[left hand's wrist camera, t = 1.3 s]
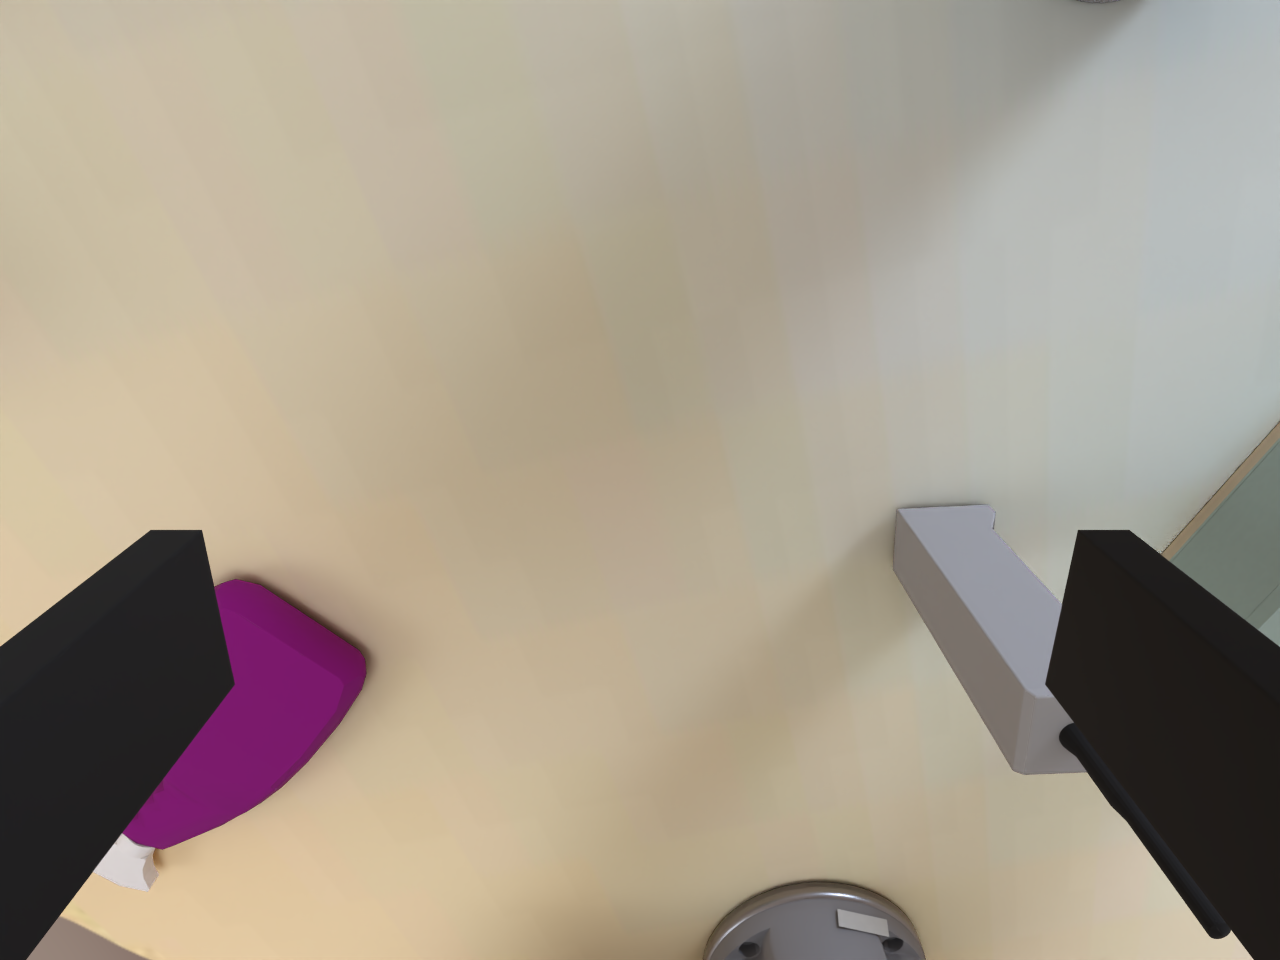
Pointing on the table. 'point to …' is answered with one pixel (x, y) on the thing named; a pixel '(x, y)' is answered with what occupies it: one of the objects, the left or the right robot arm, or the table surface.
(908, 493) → the table surface
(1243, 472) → the sage green rectangular box
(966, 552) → the vintage mobile phone
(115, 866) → the spray bottle
